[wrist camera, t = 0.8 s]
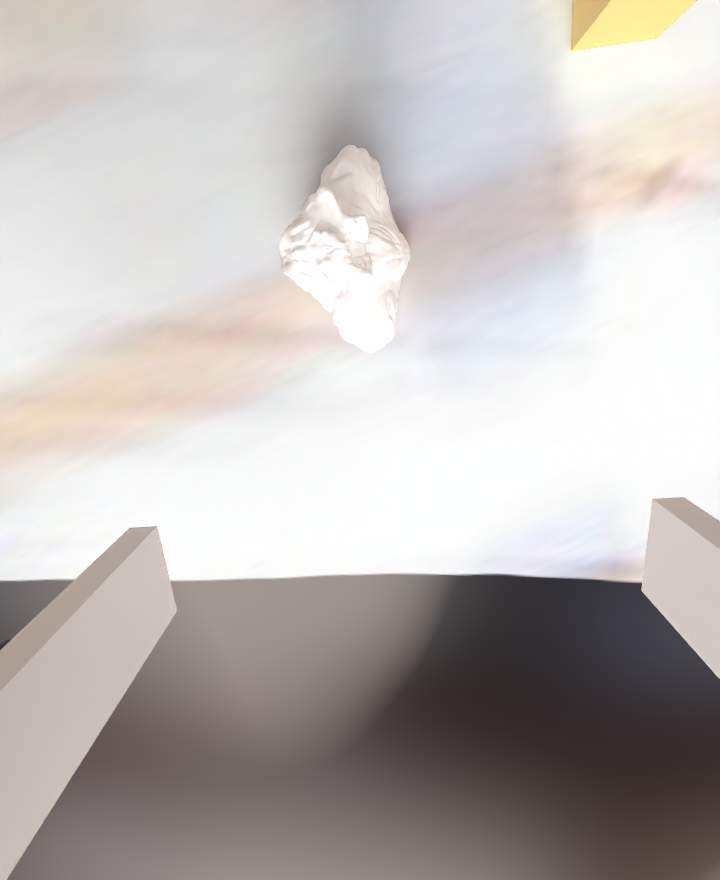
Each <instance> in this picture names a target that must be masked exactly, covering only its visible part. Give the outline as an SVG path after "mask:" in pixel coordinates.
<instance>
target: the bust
mask: <svg viewBox="0 0 720 880" xmlns="http://www.w3.org/2000/svg"><path fill="white" fill-rule="evenodd" d="M279 250H280V253H281V259H282V270H283V271H284V273H285V274H286V275H287V276H289V277H290V278H291V279H293V280H294V281H295V282H296V283H297V285H298V286H300V287H301V288H302V289H303V290H305V291H310V292H311V294H312V295H313V296H314V297H315V298H316V299H317V300H318V301H319V302H320V303H321V304H322V305H323V307H324V308H325V309H326V310H327V311H330V312H331V316H332V320H333V322H334V324H336V325H337V326H338V327H339V332H340V335H341V336H342V338H343V339H344V340H345V341H347V342H349V343H353V344H355V345H357V346H358V347H359V348H361V349H362V350H364V351H366V352H368V353H371V352H374V351H375V350H376V349H381V348H383V347H385V345H386V343H388V342H390V341H391V340H392V338H393V336H394V333H395V331H394V327H395V321H396V314H397V312H396V311H397V308H398V292H399V287H400V284H401V281H402V277H403V274H404V272H405V271H406V268H407V265H408V262H409V259H410V247H409V245H408V243H407V241H406V239H405V237H404V235H403V234H402V233H401V232H400V231H399V230H398V227H397V225H396V223H395V221H394V219H393V217H392V213H391V210H390V205H389V196H388V194H387V192H386V187H385V184H384V182H383V178H382V175H381V173H380V165H379V163H378V162H377V160H376V159H374V158H373V157H370V156H369V154H368V152H367V151H366V150H365V149H364V148H357V147H356V146H355V145H346V146H345V147H344V148H343V149H342V150H341V151H340V152H339V154H338V155H337V156H336V158H335V159H334V160H333V161H332V162H331V163H330V164H328V165H327V166H326V167H325V169H324V171H323V172H322V174H321V184H320V186H319V188H318V190H317V191H316V192H315V193H312V194H310V195H309V197H308V198H307V200H306V201H305V203H304V205H303V206H302V208H301V210H300V216H298V218H296V219H295V220H294V221H293V223H292V224H290V225H289V226H288V227H287V228H286V230H285V231H284V232H283V234H282V236H281V238H280V241H279Z"/></svg>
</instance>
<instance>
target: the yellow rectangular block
mask: <svg viewBox="0 0 720 880" xmlns="http://www.w3.org/2000/svg"><path fill="white" fill-rule="evenodd" d="M696 1H697V0H573V4H572V45H571V51H576V50H583V49H590V48H597V47H603V46H610V45H617V44H624V43H631V42H638V41H645V40H652V39H656V38H657V37H659V36H660V35H661V34H662V33H663V32H664V31H665V30H666V29H667V28H668V27H669V26H670V25H671V24H672V23H674V22H675V21H676V20H677V19H678V18H679V17H680V16H681V15H682V14H683V13H684V12H685V11H686V10H688V9H689V8H690V7H691V6H692V5H693V4H694V3H695V2H696Z"/></svg>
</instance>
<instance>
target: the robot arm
mask: <svg viewBox="0 0 720 880" xmlns="http://www.w3.org/2000/svg"><path fill="white" fill-rule="evenodd" d="M642 592H643V593H644V594H645V595H646V596H647V597H648V598H649V600H650V601H651V602H652V603H653V604H654V605H655V606H656V608H657V609H658V610H659V611H660V612H661V613H662V614H663V615H664V617H665V618H666V619H667V620H668V621H669V622H670V623H671V625H672V626H673V627H674V628H675V629H676V630H677V631H678V632H679V634H680V635H681V636H682V637H683V638H684V639H685V640H686V642H687V643H688V644H689V645H690V646H691V647H692V648H693V649H694V650H695V652H696V653H697V654H698V655H699V656H700V657H701V658H702V660H703V661H704V662H705V663H706V664H707V665H708V666H709V667H710V669H711V670H712V671H713V672H714V673H715V674H716V675H717V677H718V678H719V679H720V521H718V520H717V519H715V518H714V517H712V516H711V515H709V514H708V513H706V512H705V511H703V510H702V509H700V508H699V507H697V506H696V505H694V504H693V503H691V502H690V501H689V500H687V499H686V498H684V497H680V498H662V499H653V501H652V509H651V517H650V525H649V533H648V541H647V549H646V558H645V566H644V574H643V582H642ZM176 612H177V608H176V604H175V600H174V596H173V592H172V587H171V583H170V579H169V575H168V571H167V567H166V563H165V558H164V554H163V550H162V546H161V542H160V538H159V533H158V529H157V526H156V527H138V528H129V529H128V530H127V531H126V532H125V533H124V534H123V535H122V536H121V537H120V538H119V539H118V540H117V541H116V542H114V543H113V544H112V545H111V546H110V547H109V548H108V549H107V550H106V551H105V552H104V553H103V554H102V555H101V556H100V557H99V558H97V559H96V560H95V561H94V562H93V563H92V564H91V565H90V566H89V567H88V568H87V569H86V570H85V571H84V572H83V573H82V574H81V575H79V576H78V577H77V578H76V579H75V580H74V581H73V582H72V583H71V584H70V585H69V586H68V587H67V588H66V589H65V590H64V591H63V592H61V593H60V594H59V595H58V596H57V597H56V598H55V599H54V600H53V601H52V602H51V603H50V604H49V605H48V606H47V607H46V608H45V609H43V611H41V612H40V613H39V614H38V615H37V616H36V617H35V618H34V619H33V620H32V621H31V622H30V623H29V624H28V625H27V626H25V627H24V628H23V629H22V630H21V631H20V632H19V633H18V634H17V635H16V636H15V637H14V638H13V639H12V640H7V641H5V642H3V643H2V644H0V880H7V878H8V876H9V875H10V873H11V872H12V870H13V869H14V867H15V865H16V864H17V862H18V861H19V859H20V857H21V856H22V854H23V853H24V851H25V850H26V848H27V846H28V845H29V843H30V841H31V840H32V838H33V837H34V835H35V834H36V832H37V831H38V829H39V827H40V826H41V824H42V823H43V821H44V819H45V818H46V816H47V815H48V813H49V812H50V810H51V809H52V807H53V805H54V804H55V802H56V801H57V799H58V798H59V796H60V794H61V793H62V791H63V790H64V788H65V787H66V785H67V783H68V782H69V780H70V779H71V777H72V776H73V774H74V772H75V771H76V769H77V768H78V766H79V764H80V763H81V761H82V760H83V758H84V757H85V755H86V753H87V752H88V750H89V749H90V747H91V746H92V744H93V742H94V741H95V739H96V738H97V736H98V734H99V733H100V731H101V730H102V728H103V726H104V725H105V723H106V722H107V720H108V719H109V717H110V716H111V714H112V713H113V710H114V709H115V708H116V706H117V705H118V703H119V701H120V700H121V698H122V697H123V695H124V694H125V692H126V690H127V689H128V687H129V686H130V684H131V683H132V681H133V679H134V678H135V676H136V675H137V673H138V671H139V670H140V668H141V667H142V665H143V664H144V662H145V660H146V659H147V657H148V656H149V654H150V653H151V651H152V649H153V648H154V646H155V644H156V643H157V642H158V640H159V638H160V637H161V635H162V634H163V632H164V631H165V629H166V627H167V626H168V624H169V623H170V621H171V619H172V618H173V616H174V615H175V613H176Z"/></svg>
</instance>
